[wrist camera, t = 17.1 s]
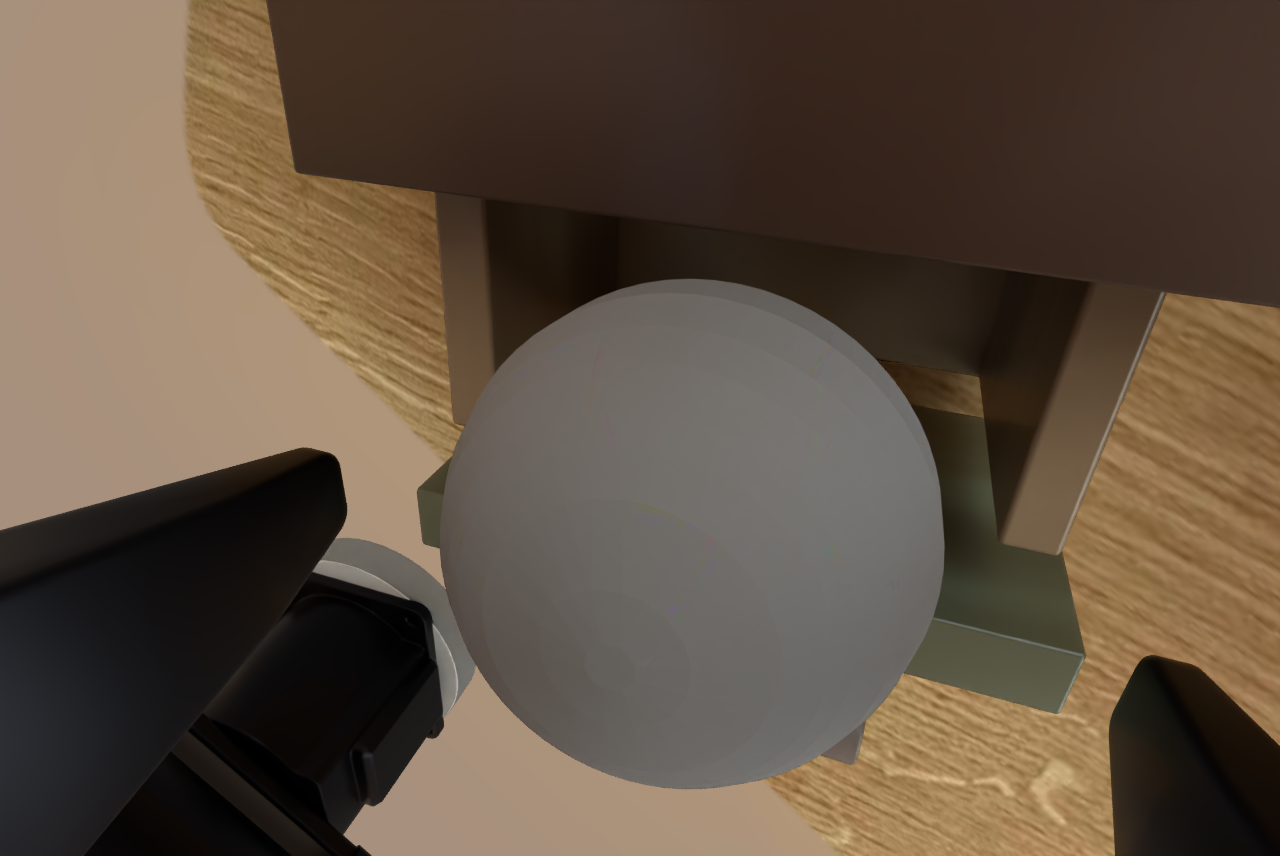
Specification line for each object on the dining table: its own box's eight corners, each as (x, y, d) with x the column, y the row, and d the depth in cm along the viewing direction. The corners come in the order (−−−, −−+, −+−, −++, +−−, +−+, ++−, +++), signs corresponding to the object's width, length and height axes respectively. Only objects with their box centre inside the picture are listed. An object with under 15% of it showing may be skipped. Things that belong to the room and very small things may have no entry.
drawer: (959, 640, 19) (970, 908, 13) (570, 541, 22) (442, 731, 16) (1255, -206, 11) (1593, -423, 5) (574, -201, 14) (316, -342, 8)
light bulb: (943, 239, 14) (1051, 398, 5) (891, 514, 16) (897, 1004, 7) (649, 214, 15) (296, 302, 6) (634, 470, 17) (348, 826, 8)
